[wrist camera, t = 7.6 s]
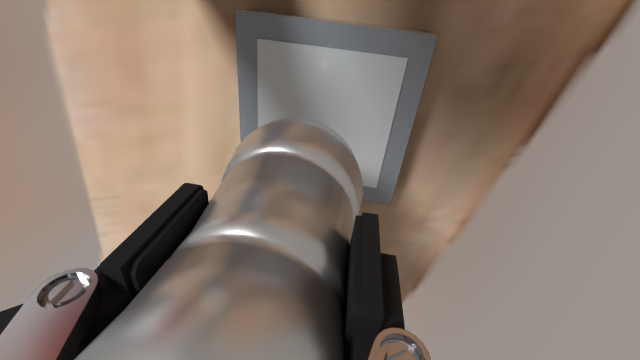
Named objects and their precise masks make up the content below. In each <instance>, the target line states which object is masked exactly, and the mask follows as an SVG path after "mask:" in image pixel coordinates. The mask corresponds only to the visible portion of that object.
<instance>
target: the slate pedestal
mask: <svg viewBox="0 0 640 360" xmlns="http://www.w3.org/2000/svg"><path fill="white" fill-rule="evenodd" d="M235 17H236V40H237V64H238V87H239V111H240V135H241V141H242V140H243V139H244V138H245V137H246V136H247V135H249V134H250V133H251V132H252V131H254V130H256V129H257V128H259V127H261V126H263V125H265V124H267V123H269V122H271V121H273V120H276V119H281V118H285V117H302V118H308V119H312V120H315V121H318V122H320V123H323V124H325V125H326V126H328V127H330V128H331V129H333V130H334V131H336V132H337V133H338V134H339V135H340V136H341V137H342V138H343V139H344V140H345V141H346V142H347V144H348V145H349V146H350V148H351V149H352V152H353V154H354V156H355V158H356V160H357V163H358V166H359V169H360V172H361V176H362V180H363V197H362V200H365V201H371V202H377V203H383V204H389V205H390V204H391V201H392V197H393V194H394V190H395V187H396V183H397V180H398V176H399V172H400V169H401V165H402V162H403V158H404V155H405V151H406V148H407V144H408V141H409V137H410V134H411V130H412V127H413V123H414V120H415V116H416V113H417V109H418V106H419V102H420V99H421V95H422V91H423V88H424V84H425V81H426V77H427V74H428V70H429V67H430V63H431V60H432V56H433V53H434V49H435V46H436V42H437V39H438V35H436V34H434V33H431V32H423V31H415V30H407V29H399V28H391V27H383V26H375V25H367V24H359V23H350V22H342V21H334V20H326V19H318V18H310V17H302V16H294V15H286V14H278V13H270V12H262V11H254V10H235Z"/></svg>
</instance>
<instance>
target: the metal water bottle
mask: <svg viewBox="0 0 640 360" xmlns="http://www.w3.org/2000/svg"><path fill="white" fill-rule="evenodd" d="M362 197H363V180H362V176H361V172H360V169H359V166H358V163H357V160H356V158H355V156H354V154H353V152H352V149H351V148H350V146H349V145H348V144H347V142H346V141H345V140H344V139H343V138H342V137H341V136H340V135H339V134H338V133H337V132H336V131H334V130H333V129H331V128H330V127H328V126H326V125H325V124H323V123H320V122H318V121H315V120H312V119H308V118H302V117H285V118H281V119H276V120H273V121H271V122H269V123H267V124H265V125H263V126H261V127H259V128H257V129H256V130H254V131H252V132H251V133H250V134H249V135H247V136H246V137H245V138H244V139H243V140H242V141H241V143H240V144H239V145H238V147H237V148H236V150H235V152H234V154H233V155H232V157H231V159H230V161H229V163H228V165H227V168H226V170H225V173H224V175H223V178H222V181H221V184H220V186H219V187H218V189H217V191H216V192H215V194H214V196H213V197H212V199H211V200H210V202H209V204H208V205H207V207H206V209H205V210H204V212H203V214H202V215H201V217H200V219H199V220H198V222H197V223H196V225H195V227H194V228H193V230H192V232H191V233H190V234H189V235H188V236H187V238H186V239H185V240H184V241H183V242H182V243H181V244H180V246H179V247H178V248H177V249H176V251H175V252H174V253H173V254H172V256H171V258H169V259H168V260H167V261H166V262H165V263H164V264H163V265H162V267H161V268H160V269H159V270H158V271H157V272H156V274H155V275H154V276H153V277H152V278H151V279H150V281H149V282H148V283H147V284H146V285H145V286H144V288H143V289H142V290H141V291H140V292H139V293H138V295H137V296H136V297H135V298H134V299H133V300H132V302H131V303H130V304H129V305H128V306H127V307H126V309H125V310H124V311H123V312H122V313H121V314H120V315H119V316H118V317H117V318H116V319H115V320H114V321H113V322H112V323H111V324H110V325H109V326H107V327H106V328H105V329H104V330H103V331H102V332H101V333H100V334H99V335H98V336H97V337H96V338H95V339H94V340H93V341H92V342H91V343H90V344H89V345H88V346H87V347H86V348H85V349H84V350H83V351H82V352H81V353H80V354H79V355H78V356H77V357H76V358H75V359H74V360H344V319H343V315H344V283H345V277H346V270H347V264H348V256H349V246H350V241H351V236H352V231H353V227H354V222H355V217H356V215H358V216H359V211H360V207H361V202H362Z"/></svg>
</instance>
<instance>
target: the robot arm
mask: <svg viewBox="0 0 640 360" xmlns="http://www.w3.org/2000/svg"><path fill="white" fill-rule="evenodd" d="M208 204H209V201H208V193H207V191H206V190H204V189H203V187H202V186H201V185H196V184H190V183H184V184H183V185H182V186H181V187H180V188H179V189H178V190H177V191H176V192H175V193H174V194H173V195H171V196H170V197H169V198H168V199H167V200H166V201H165V202H164V203H163V204H162V205H161V206H160V207H159V208H158V209H157V210H156V211H155V212H154V213H153V214H152V215H151V216H150V217H149V218H147V219H146V220H145V221H144V222H143V223H142V224H141V225H140V226H139V227H138V228H137V229H136V230H135V231H134V232H133V233H132V234H131V235H130V236H129V237H128V238H127V239H126V240H125V241H124V242H122V243H121V244H120V245H119V246H118V247H117V248H116V249H115V250H114V251H113V252H112V253H111V254H110V255H109V256H108V257H107V258H106V259H105V260H104V261H103V262H102V263H101V264H100V266H99V267H98V268H97V269H96V270H94V271H93V270H90V269H87V268H76V269H71V270H67V271H64V272H61V273H58V274H56V275H54V276H52V277H50V278H48V279H47V280H46V281H44V282H43V283H41V284H40V285H39V286H38V287H37V288H36V289H35V290H34V291H33V293H32V294H31V295H30V296H29V298H28V299H27V301H26V302H25V303H24V304H21V305H18V306H16V307H13V308H10V309H7V310H4V311H1V312H0V360H74V359H75V358H76V357H77V356H78V355H79V354H80V353H81V352H82V351H83V350H84V349H85V348H86V347H87V346H88V345H89V344H90V343H91V342H92V341H93V340H94V339H95V338H96V337H97V336H98V335H99V334H100V333H101V332H102V331H103V330H104V329H105V328H106V327H107V326H109V325H110V324H111V323H112V322H113V321H114V320H115V319H116V318H117V317H118V316H119V315H120V314H121V313H122V312H123V311H124V310H125V309H126V307H127V306H128V305H129V304H130V303H131V302H132V300H133V299H134V298H135V297H136V296H137V295H138V293H139V292H140V291H141V290H142V289H143V288H144V286H145V285H146V284H147V283H148V282H149V281H150V279H151V278H152V277H153V276H154V275H155V274H156V272H157V271H158V270H159V269H160V268H161V267H162V265H163V264H164V263H165V262H166V261H167V260H168V259H169V258H171V256H172V254H173V253H174V252H175V251H176V249H177V248H178V247H179V246H180V244H181V243H182V242H183V241H184V240H185V239H186V238H187V236H188V235H189V234H190V233H191V232H192V230H193V228H194V227H195V225H196V223H197V222H198V220H199V219H200V217H201V215H202V214H203V212H204V210H205V209H206V207H207V205H208ZM343 319H344V360H431V358H430V355H429V352H428V350H427V349H426V347H425V346H424V344H423V343H422V342H421V341H420V340H419V339H418V338H417V337H416V336H415V335H413V334H412V333H410V332H409V331H407V330H405V327H404V319H403V309H402V301H401V293H400V284H399V276H398V267H397V260H396V257H395V255H389V254H383V253H380V237H379V219H378V215H376V214H370V213H364V212H363V213H362V216H358V215H356V217H355V222H354V227H353V231H352V236H351V241H350V246H349V256H348V264H347V270H346V277H345V283H344V315H343Z"/></svg>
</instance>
